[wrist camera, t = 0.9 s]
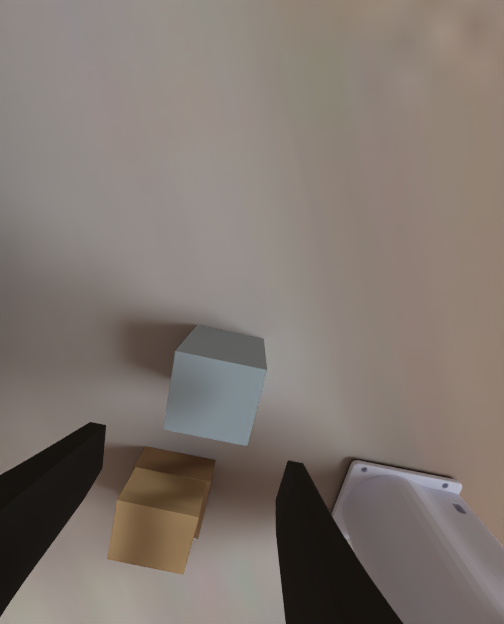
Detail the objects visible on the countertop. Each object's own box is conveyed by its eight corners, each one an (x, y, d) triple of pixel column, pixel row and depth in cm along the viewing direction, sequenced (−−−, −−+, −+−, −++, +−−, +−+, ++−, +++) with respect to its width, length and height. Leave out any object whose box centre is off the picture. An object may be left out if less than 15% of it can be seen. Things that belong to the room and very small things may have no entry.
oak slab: (206, 482, 18) (198, 517, 16) (192, 534, 20) (183, 574, 17) (135, 466, 18) (117, 500, 16) (125, 520, 19) (107, 559, 17)
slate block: (263, 338, 18) (267, 370, 13) (249, 396, 19) (247, 446, 14) (197, 324, 17) (175, 350, 13) (187, 384, 19) (163, 429, 14)
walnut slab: (216, 455, 21) (211, 481, 18) (204, 507, 22) (197, 538, 20) (148, 441, 20) (133, 466, 18) (139, 495, 22) (125, 525, 19)
